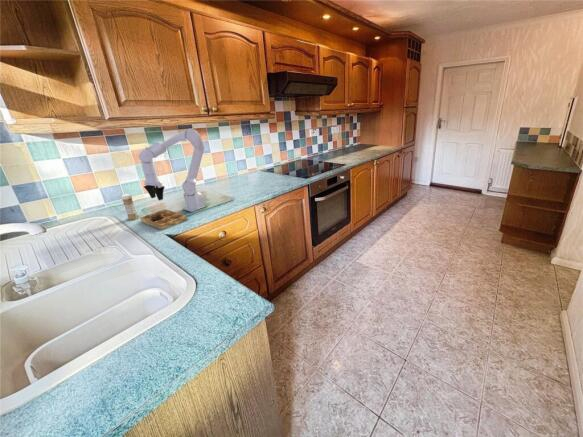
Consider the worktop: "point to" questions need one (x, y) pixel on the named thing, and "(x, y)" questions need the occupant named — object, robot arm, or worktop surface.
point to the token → (156, 217)
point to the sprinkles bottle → (129, 206)
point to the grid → (164, 219)
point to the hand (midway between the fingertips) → (157, 198)
